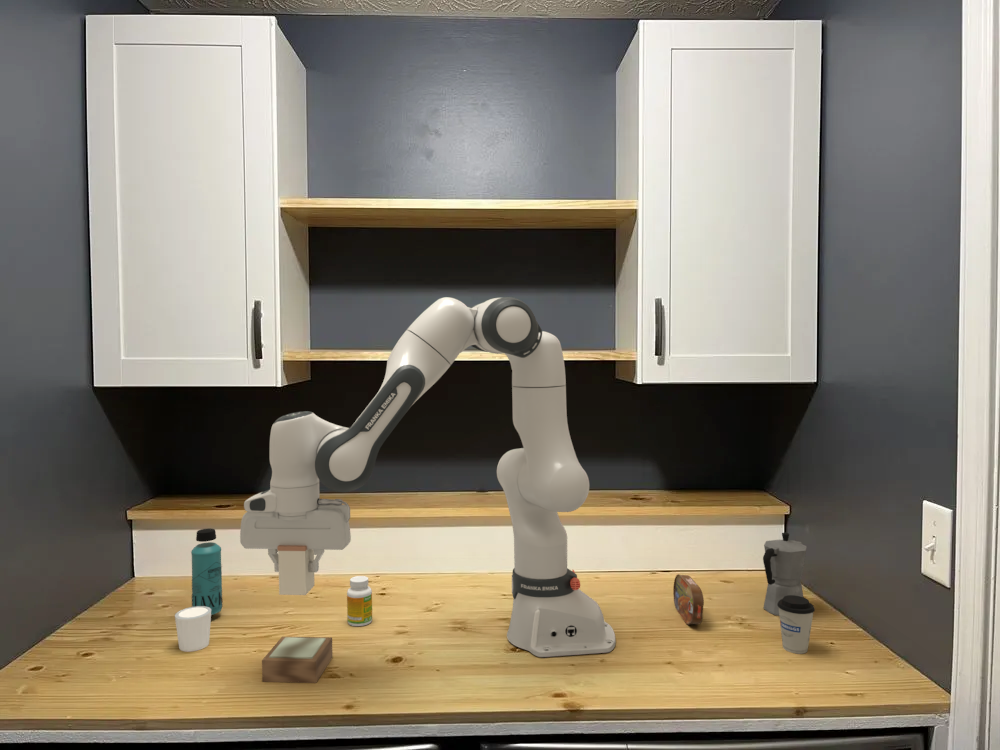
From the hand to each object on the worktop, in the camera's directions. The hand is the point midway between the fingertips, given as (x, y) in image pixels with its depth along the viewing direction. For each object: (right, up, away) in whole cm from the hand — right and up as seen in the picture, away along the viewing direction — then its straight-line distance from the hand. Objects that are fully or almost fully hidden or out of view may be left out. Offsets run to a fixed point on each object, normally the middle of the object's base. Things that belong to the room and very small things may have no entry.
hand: (296, 571), depth 129 cm
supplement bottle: (+7, -18, +23) cm, 30 cm away
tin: (+80, -18, +25) cm, 86 cm away
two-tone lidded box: (0, -4, 0) cm, 4 cm away
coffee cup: (+98, -18, +9) cm, 100 cm away
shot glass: (-24, -19, +11) cm, 33 cm away
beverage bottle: (-28, -18, +26) cm, 42 cm away
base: (0, -19, +1) cm, 19 cm away
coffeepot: (+103, -17, +27) cm, 108 cm away
